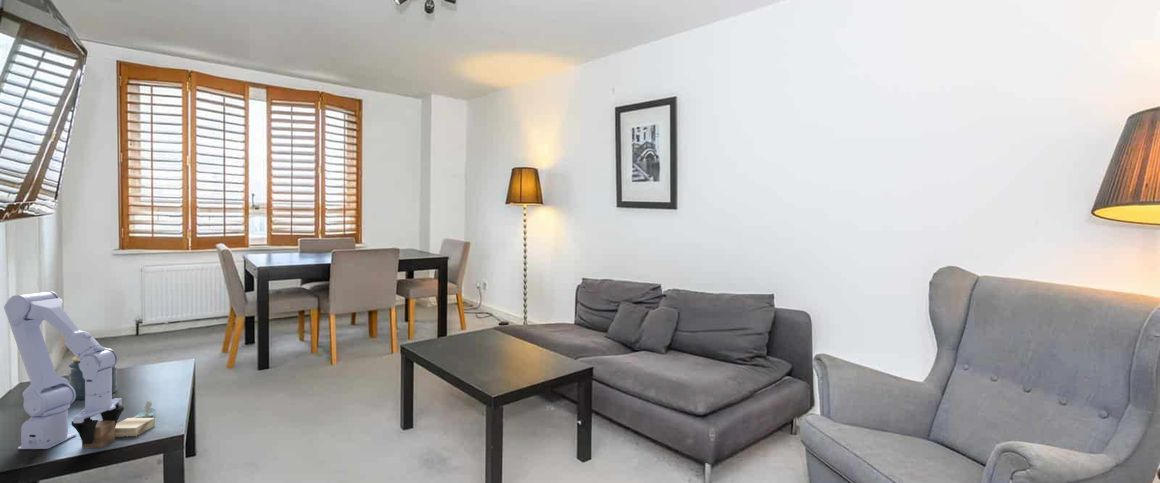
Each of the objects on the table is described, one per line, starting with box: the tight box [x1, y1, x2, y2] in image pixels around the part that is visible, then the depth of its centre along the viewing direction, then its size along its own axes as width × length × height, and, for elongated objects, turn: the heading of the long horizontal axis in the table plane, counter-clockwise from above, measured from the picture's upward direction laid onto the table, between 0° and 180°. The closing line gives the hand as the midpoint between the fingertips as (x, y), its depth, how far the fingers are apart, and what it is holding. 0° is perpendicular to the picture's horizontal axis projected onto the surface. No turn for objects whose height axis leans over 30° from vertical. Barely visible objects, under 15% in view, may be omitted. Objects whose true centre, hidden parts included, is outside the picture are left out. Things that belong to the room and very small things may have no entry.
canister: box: [68, 355, 118, 400], centre depth 188 cm, size 13×13×18 cm
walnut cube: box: [81, 420, 116, 449], centre depth 149 cm, size 5×5×6 cm
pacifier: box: [132, 399, 157, 418], centre depth 168 cm, size 7×6×6 cm
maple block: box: [115, 417, 156, 438], centre depth 159 cm, size 8×8×3 cm
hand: (98, 437), depth 149 cm, fingers open, 7 cm apart
